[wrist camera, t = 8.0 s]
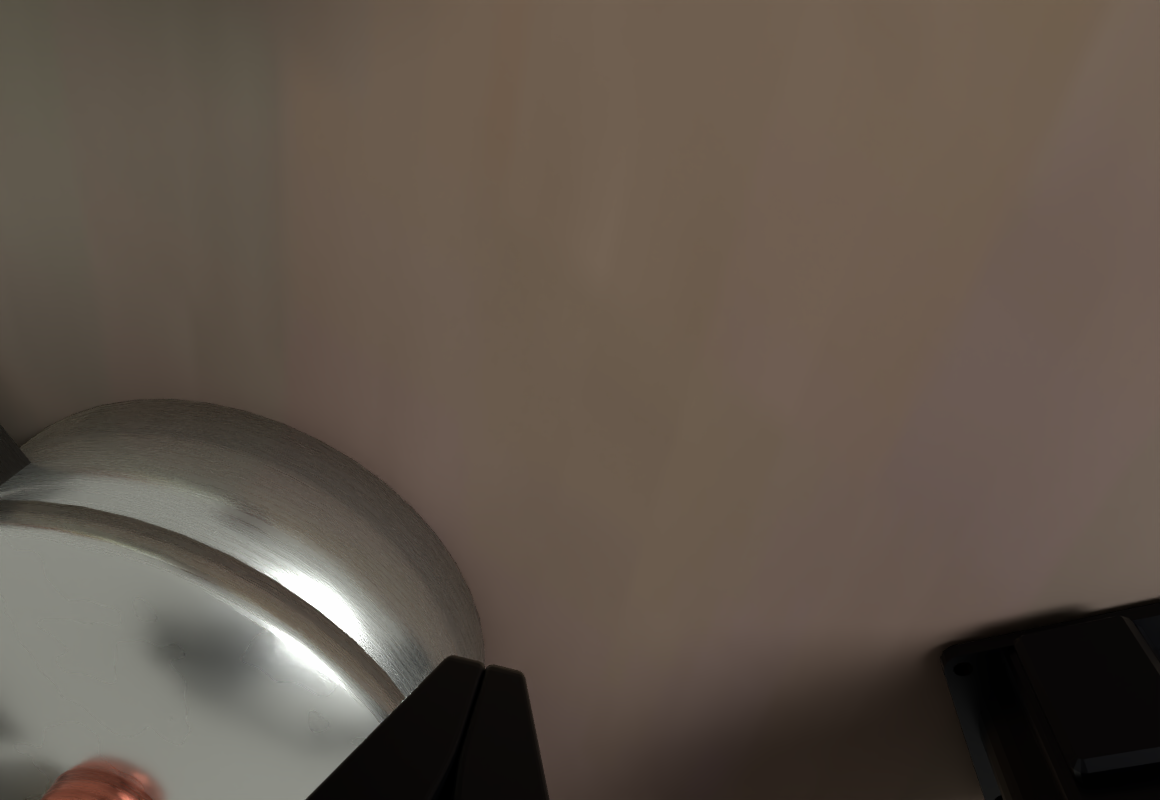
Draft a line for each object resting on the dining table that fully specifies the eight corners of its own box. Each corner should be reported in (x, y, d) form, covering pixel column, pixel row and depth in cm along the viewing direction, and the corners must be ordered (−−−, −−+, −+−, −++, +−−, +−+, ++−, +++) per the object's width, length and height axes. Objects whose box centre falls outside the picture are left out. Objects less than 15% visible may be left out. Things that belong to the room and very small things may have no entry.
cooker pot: (567, 750, 27) (543, 904, 23) (184, 826, 32) (102, 966, 27) (155, 60, 18) (-17, 93, 14) (-292, 304, 23) (-527, 386, 18)
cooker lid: (555, 918, 22) (541, 1018, 20) (95, 979, 27) (44, 1064, 25) (-28, 57, 13) (-163, 76, 11) (-567, 372, 18) (-733, 427, 16)
